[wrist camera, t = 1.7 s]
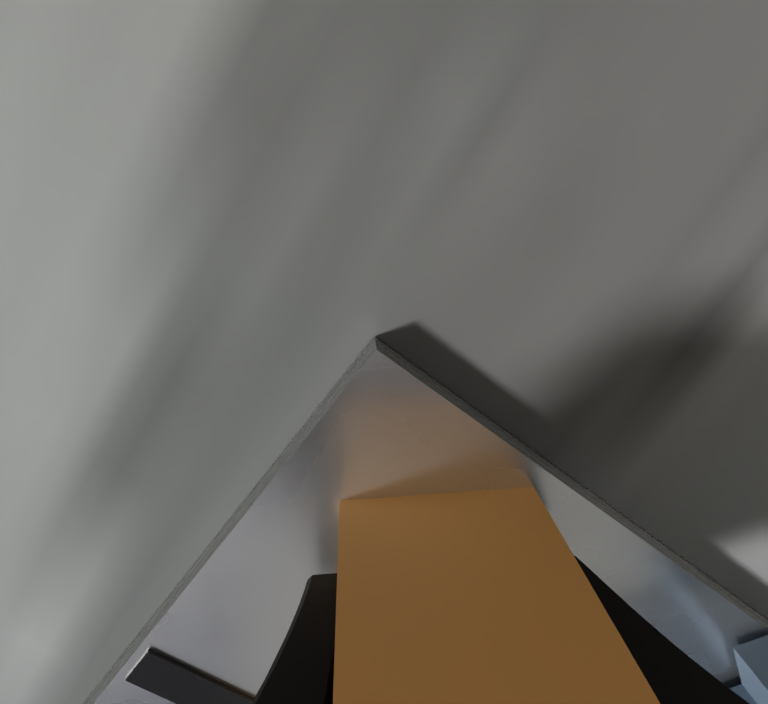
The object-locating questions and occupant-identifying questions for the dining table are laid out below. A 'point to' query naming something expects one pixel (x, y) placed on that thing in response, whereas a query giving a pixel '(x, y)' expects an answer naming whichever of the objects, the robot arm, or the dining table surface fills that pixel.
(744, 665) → the crank
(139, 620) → the dining table surface
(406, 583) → the block
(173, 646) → the plate
